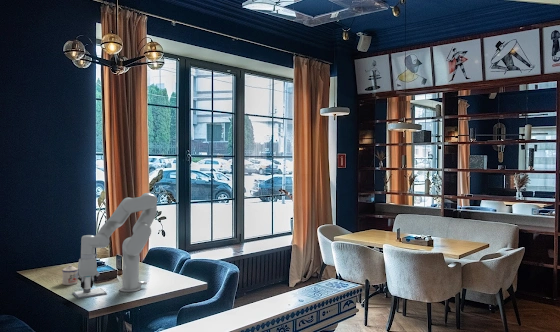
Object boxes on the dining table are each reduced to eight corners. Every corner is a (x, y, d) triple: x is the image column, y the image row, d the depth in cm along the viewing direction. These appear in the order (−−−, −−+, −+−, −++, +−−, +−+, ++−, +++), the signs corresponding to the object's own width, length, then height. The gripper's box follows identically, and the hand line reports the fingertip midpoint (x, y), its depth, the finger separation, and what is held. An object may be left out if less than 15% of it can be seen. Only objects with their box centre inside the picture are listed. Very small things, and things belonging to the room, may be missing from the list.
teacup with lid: (69, 286, 287) (69, 267, 287) (58, 284, 291) (58, 265, 291) (84, 281, 298) (85, 263, 298) (74, 279, 302) (74, 261, 301)
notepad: (100, 289, 282) (100, 287, 282) (106, 294, 272) (106, 292, 272) (72, 293, 272) (72, 291, 272) (77, 298, 263) (77, 297, 263)
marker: (89, 290, 275) (90, 270, 275) (91, 292, 272) (91, 271, 272) (82, 291, 273) (82, 270, 272) (84, 293, 269) (84, 272, 269)
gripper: (100, 254, 280) (99, 284, 280) (71, 256, 270) (70, 288, 270) (104, 256, 274) (103, 287, 274) (74, 259, 264) (73, 291, 264)
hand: (86, 287), depth 272 cm, fingers closed on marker, 3 cm apart
